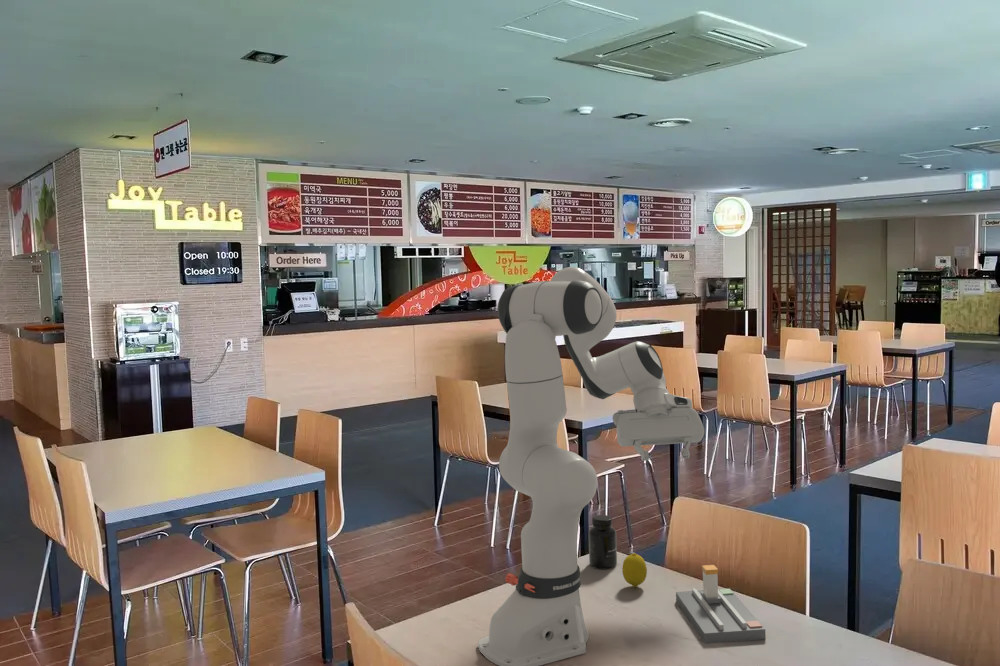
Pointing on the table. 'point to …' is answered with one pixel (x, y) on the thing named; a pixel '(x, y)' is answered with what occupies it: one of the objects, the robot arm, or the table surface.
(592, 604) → the table surface
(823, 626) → the table surface
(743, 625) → the switch panel
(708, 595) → the breaker lever
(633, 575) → the lemon
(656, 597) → the table surface
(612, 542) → the supplement bottle
